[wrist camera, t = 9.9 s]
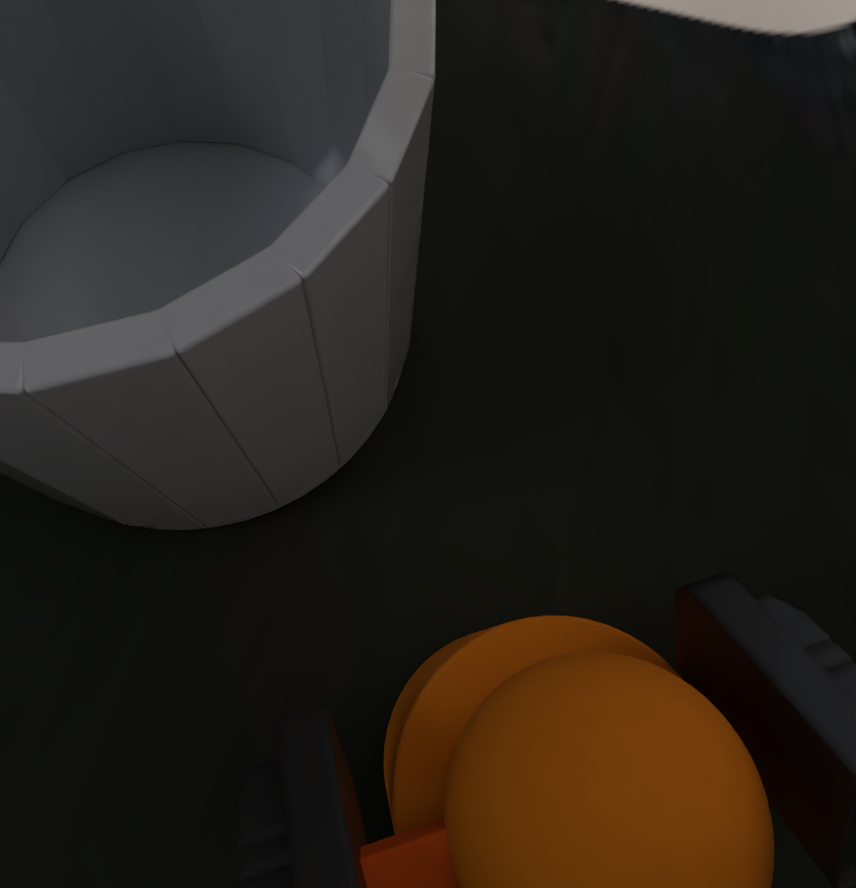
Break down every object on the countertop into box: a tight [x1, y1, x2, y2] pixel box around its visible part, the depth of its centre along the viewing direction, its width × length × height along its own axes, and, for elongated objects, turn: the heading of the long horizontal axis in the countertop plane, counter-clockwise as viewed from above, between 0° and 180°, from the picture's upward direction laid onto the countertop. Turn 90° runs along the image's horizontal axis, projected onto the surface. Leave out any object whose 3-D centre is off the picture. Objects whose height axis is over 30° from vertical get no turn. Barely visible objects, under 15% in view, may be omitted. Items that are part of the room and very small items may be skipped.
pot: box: [0, 0, 436, 530], centre depth 13 cm, size 10×10×9 cm
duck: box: [360, 615, 774, 888], centre depth 11 cm, size 6×5×8 cm
